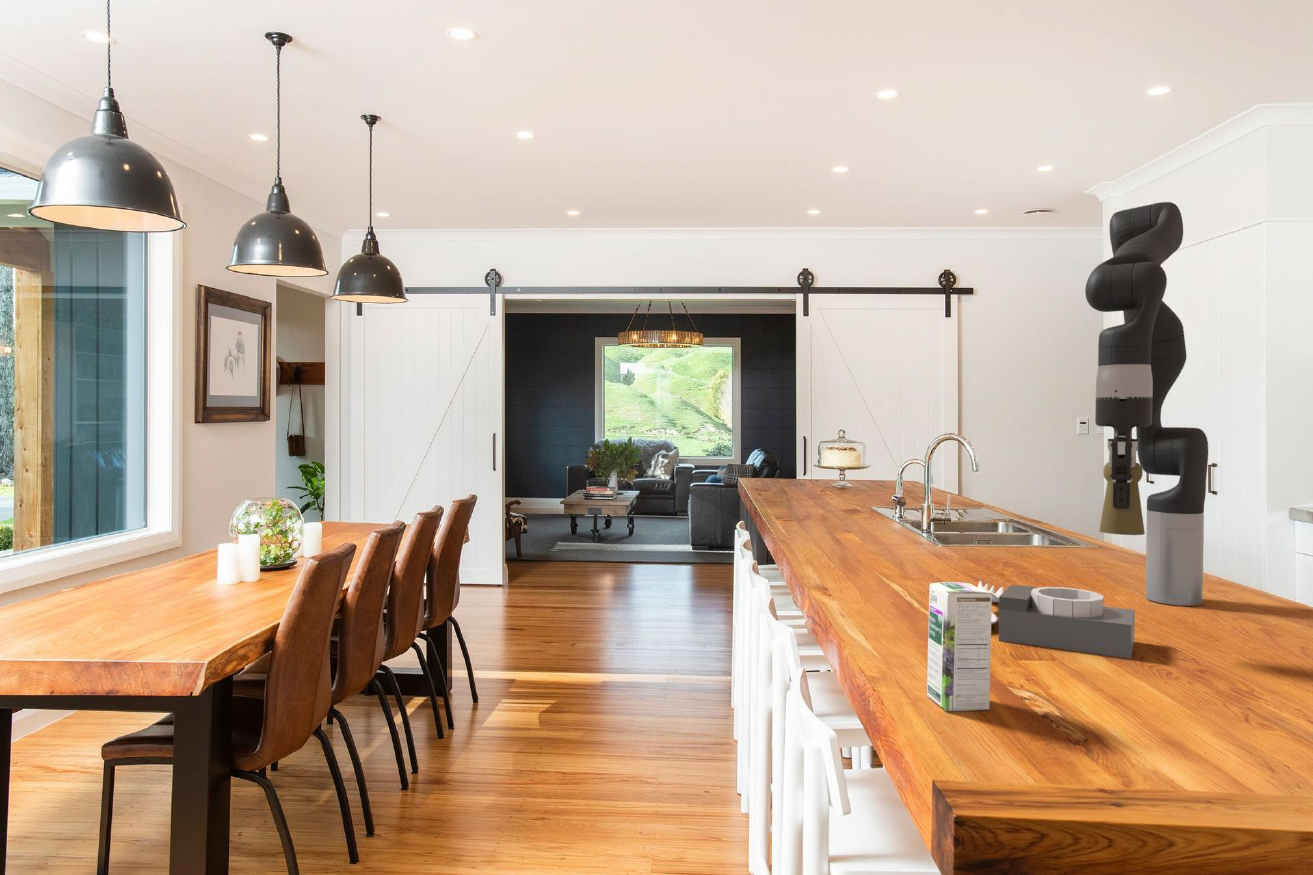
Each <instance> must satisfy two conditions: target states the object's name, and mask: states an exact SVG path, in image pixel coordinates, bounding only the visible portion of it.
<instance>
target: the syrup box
mask: <svg viewBox="0 0 1313 875" xmlns="http://www.w3.org/2000/svg"><path fill="white" fill-rule="evenodd" d="M928 592H929V599H928V600H929V601H928V602H929V603H928V633H927V634H928V635H927V638H928V639H927V641H928V642H927V672H926V673H927V676H926V677H927V680H926V682H927V684H926V686H927V687H926V688H927V690H926V692H927V693H926V696H927V698H929V699H931V700H932V701H933V702H935V704H937V705H938V706H939V707H941V708H942V709H943V710H944V711H945V712H967V711H969V712H971V711H987V710H990V701H991V700H990V697H991V694H990V693H991V655H992V654H991V653H992V651H991V650H992V649H991V648H992V647H991V645H992V625H991V612H993V611H992V605H993V604H992V603H993V602H992V594H991V593H992V592H987V591H985V590H982V589H980V588H978V586H976V585H973V584H972V583H968V582H959V581H957V582H956V581H944V582H943V581H941V582H934V583H932V582H931V583H929V590H928Z"/></svg>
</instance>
